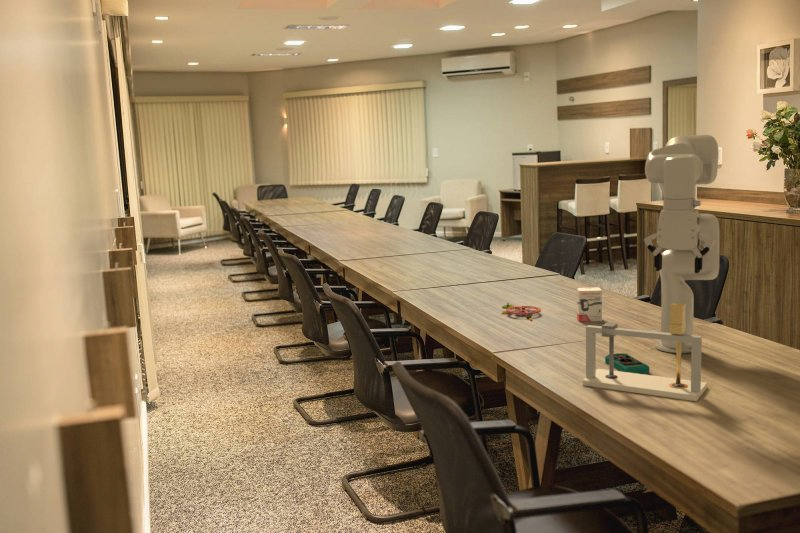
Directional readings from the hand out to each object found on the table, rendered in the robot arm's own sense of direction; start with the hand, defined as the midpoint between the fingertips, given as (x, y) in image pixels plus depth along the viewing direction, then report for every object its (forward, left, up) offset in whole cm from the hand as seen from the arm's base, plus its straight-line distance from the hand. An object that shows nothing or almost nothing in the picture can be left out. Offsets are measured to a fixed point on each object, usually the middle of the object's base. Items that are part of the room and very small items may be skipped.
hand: (677, 271), depth 204 cm
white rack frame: (0, -9, -32) cm, 33 cm away
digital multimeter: (-16, -18, -33) cm, 41 cm away
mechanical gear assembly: (-70, -77, -33) cm, 109 cm away
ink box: (-68, -49, -33) cm, 90 cm away
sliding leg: (+1, 0, -30) cm, 30 cm away
